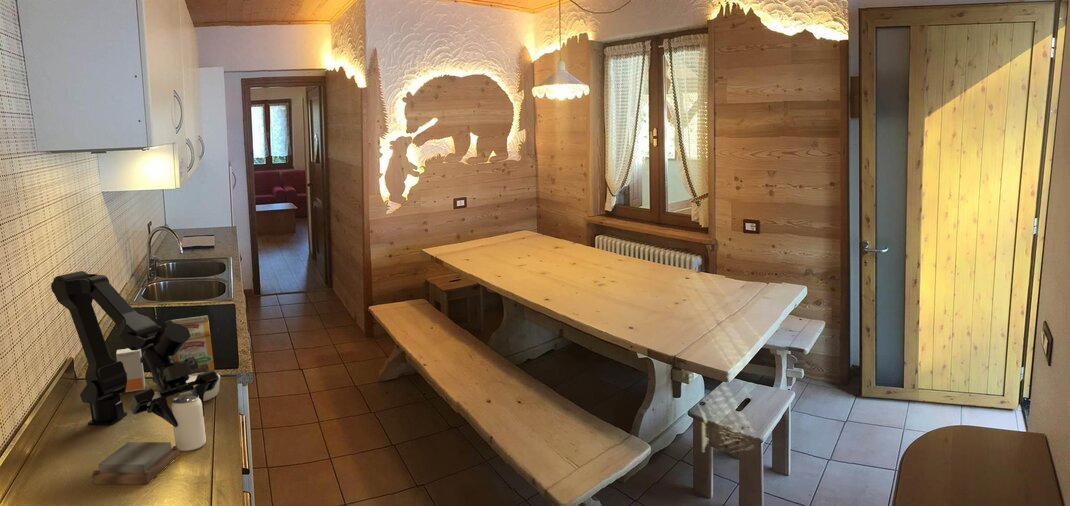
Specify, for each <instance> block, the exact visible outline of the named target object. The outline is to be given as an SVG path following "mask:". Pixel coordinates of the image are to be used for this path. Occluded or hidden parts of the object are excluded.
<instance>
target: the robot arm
mask: <svg viewBox="0 0 1070 506" xmlns="http://www.w3.org/2000/svg"><path fill="white" fill-rule="evenodd" d="M50 289H51V291H52V293H53V294H54V296H55V298H56V300H57V302H58V303H59V304H61V306H63V307H65V308H66V309H67V310H68V311H69V313H70V315H71V319H72V321H73V322H72V323H73V326H74V327H75V331H76V333H77V335H78V338H79V341H80V344H81V346H82V347H81V348H82V350H83V353H84V355H85V356H84V357H85V358H86V361H87V368H86V371H85V375H84V378H85V381H86V385H85V387H84V388H83V389H82V391H81V392H80V393H79V396H80V399H81V402H82V403H84V404H89V409H90V411H89V412H90V416H91V419H90V420H89V421H88V422H87V425H88V426H89V425H90V426H93V425H100V426H101V425H104V426H105V425H106V426H107V425H113V424H116V422H118V421H119V420H120V419H123V417H124V418H125V416H127V415H128V412H126V411H125V410H124V404H123V400H122V399H121V394H124V393H127V392H126V385H127V373H126V372H125V369H124V366H123V363H122V362H121V361H118V362H117V360H115V359H114V358H113V357H112V356H111V354H110V351H109V349H108V346H107V343H106V340H105V338H104V334H103V331H102V329H101V325H100V323H99V320H98V318H97V315H96V312H95V308H94V306H93V301H95V303H96V304H98V306H99V307H100V309H102V310H103V312H104V313H105V314H107V316H108V317H109V318H110V319H111V320H112V321H113V322H114V324H115V325H116V326H117V327H118V336H119V338H120V340H121V341H122V343H123V344H124V346H126V349H127V348H129V349H130V350H139V349H141V350H142V349H144V348H147V349H145V350H144V351H142V353H141V354H142V357H141V359H140V362H141V363H146V365H147V367H148V370H149V371H150V373H151V375H152V379H151V380H152V382H153V383H156V386H157V388H158V391H155V390H153V389H152V388H149V389H146V390H145V389H144V390H140V391H139V392H138V391H137V392H135V393H134V395H133V396H132V399H131V402H130V403H129V408H130V411H131V413H132V415H137V414H142V413H144V412H147V413H148V414H151V413H152V414H154V415H156V416H158V417H160V418H162V419H163V420H165V421H166V423H167V422H168V423H169V424H170V425H171V426H172V427H173V426H174V427H177V426H178V423H177V421H176V419H175V417H174V415H173V413H172V411H171V408H170V406H169V404H168V400H167V399H168V398H171V397H174V396H177V395H179V394H181V393H184V392H187V391H191V392H192V394H198V395H199V399H200V400H201V402H202V409H203V417H205V401H204V400H203V397H204V393H205V392H207V391H210V390H212V389H213V388H214V387H215V385H216V383H217V381H218V379H219V377H218V375H217V374H218V373H217V372H216V371H215V370H214V371H215V372H214V371H212V370H211V371H208V372H205V373H201V374H198V376H197V378H196V380H195V381H192V382H189V383H186V381H187V380H188V379H189V376H188V375H190V374H193V373H192V371H194V370H196V369H198V363H197V361H196V359H195V357H194V356H193V357H190V358H187V359H185V360H184V363H179V362H176V360H175V358H174V356H173V355H176V354H177V353H178V352H179V351H180V349H181V348H182V347H183V346H184V344H185V343H186V342H187V340H188V339H189V337H190V332H189V330H188V329H187V328H186V327H184V326H182V325H180V324H176V323H173V322H172V320H173V319H170V320H167V321H164V322H163V323H162V324H161V325H158V324H157V323H156V322H155V321H153V320H152V319H151V318H150V317H149V316H146V315H143V314H139V313H138V312H137V311H135V309H134V308H133V307H132V306H131V305H130V304H129V303H128V302H127V301H126V300H125V298H124V297H122V295H121V294H120V293H119V292H118V291H117V290H116V289H115V288H114V286H113V285H112V284H111V283H110V280H109V278H108V277H107V276H106V275H104V274H98V273H87V272H86V271H84V270H79V271H75V272H70V273H65V274H61V275H57V276H55V277H54V278H53V281H52V282H51V284H50Z"/></svg>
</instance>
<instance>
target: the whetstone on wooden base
mask: <svg viewBox="0 0 1070 506" xmlns="http://www.w3.org/2000/svg"><path fill="white" fill-rule="evenodd" d="M178 456H179V457H180V451H179V449H178V448H177V446H176V445H174V446H172V443H171V441H167V442H166V441H157V442H156V441H153V442H152V441H127V442H126V443H125V444H124V445H122V446H121V447H119V448H118V449H117V450H115V451H114V452H112V453H111V454H110V455H109V456H106V458H105V459H103V460H102V461H101V462H99V463H98V464H97V465H98V470H97V469H96V470H93V472H92V474H91V477H92V484H95V485H98V484H99V485H101V484H102V485H103V484H104V485H149V484H150V483H151V482H152V481H153V480H154V479H155V478H156V477H155V476H156V475H157V474H158V473H160V472H161V471H162V470H163V469H164V468H165V467H166V466H168V465H169V464H170V463H171V462H172V461H173V460H175V459H176V458H177V457H178ZM179 457H178V458H179ZM178 458H177V459H178ZM177 459H176V460H177ZM176 460H175V461H176ZM172 463H173V462H172ZM172 463H171V464H172ZM171 464H170V465H171ZM170 465H169V466H170ZM169 466H168V467H169ZM164 470H165V469H164ZM164 470H163V471H164ZM163 471H162V472H163ZM162 472H161V473H162ZM161 473H160V474H161ZM154 477H155V478H154ZM153 478H154V479H153ZM152 479H153V480H152ZM151 480H152V481H151ZM150 481H151V482H150ZM149 482H150V483H149ZM148 483H149V484H148Z"/></svg>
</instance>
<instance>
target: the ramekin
mask: <svg viewBox="0 0 1070 506" xmlns="http://www.w3.org/2000/svg"><path fill="white" fill-rule="evenodd" d="M203 373H205V372H203ZM198 374H201V373H195V374H191V375H188V376H189V379H188V380H187V381H186V383H189V382H192V381H195V380H196V378H197V376H198ZM217 375H218V377H219V379H218V381H217V383H216V385H215V387H214V388H213V389H212V390H210V391H207V392H205V393H204V397H203V400H204V402H206V401H208V400H209V401H210V400H211V399H213V398H215V397H216V396H217V395H218V394H219V391H220V381H221V375H220V374H218V373H217ZM184 394H192V392H191V391H187V392H184V393H181V394H178V396H180V395H184Z"/></svg>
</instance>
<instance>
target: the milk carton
mask: <svg viewBox="0 0 1070 506" xmlns="http://www.w3.org/2000/svg"><path fill="white" fill-rule="evenodd" d="M171 320H172V322H173V323H176V324H180V325H182V326H184V327H186V328H187V329H188V330H189V332H190V337H189V339H188V340H187V342H186V343H185V344H184V346H183V347H182V348H181V349H180V351H179V352H178V353H177V354H176V355H173V356H174V358H175V360H176V362H179V363H184V360H185V359H187V358H190V357H193V356H194V357H195V359H196V361H197V363H198V369H196V370H194V371H192V373H193V374H195V373H203V372H208V371H211V370H212V371H214V372H216V371H215V364H214V356H213V355H214V354H213V347H212V338H211V330H210V322H209V320H210V319H209V315H201V316H195V317H194V316H193V317H187V318H186V317H185V318H178V319H171ZM190 375H191V374H190Z"/></svg>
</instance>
